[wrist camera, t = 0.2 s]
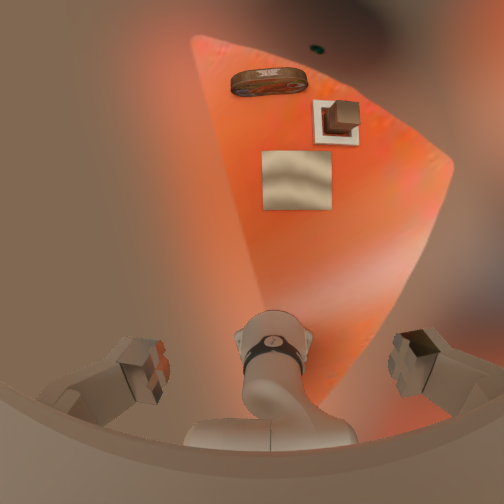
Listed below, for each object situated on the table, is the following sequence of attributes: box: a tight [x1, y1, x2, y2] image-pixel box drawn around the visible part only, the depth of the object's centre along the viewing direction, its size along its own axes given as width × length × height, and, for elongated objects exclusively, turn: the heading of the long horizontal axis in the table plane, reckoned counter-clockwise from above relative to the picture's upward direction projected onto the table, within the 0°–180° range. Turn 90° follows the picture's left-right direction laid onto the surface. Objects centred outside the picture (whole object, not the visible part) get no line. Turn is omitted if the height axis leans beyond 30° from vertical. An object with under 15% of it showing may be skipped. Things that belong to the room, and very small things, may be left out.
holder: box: [311, 100, 359, 147], centre depth 48 cm, size 9×9×3 cm
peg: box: [324, 100, 361, 134], centre depth 44 cm, size 4×4×12 cm
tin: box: [231, 67, 308, 97], centre depth 45 cm, size 15×3×8 cm, turn 95°
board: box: [262, 151, 332, 210], centre depth 53 cm, size 12×14×1 cm
